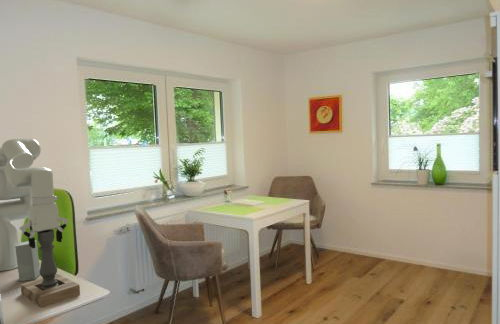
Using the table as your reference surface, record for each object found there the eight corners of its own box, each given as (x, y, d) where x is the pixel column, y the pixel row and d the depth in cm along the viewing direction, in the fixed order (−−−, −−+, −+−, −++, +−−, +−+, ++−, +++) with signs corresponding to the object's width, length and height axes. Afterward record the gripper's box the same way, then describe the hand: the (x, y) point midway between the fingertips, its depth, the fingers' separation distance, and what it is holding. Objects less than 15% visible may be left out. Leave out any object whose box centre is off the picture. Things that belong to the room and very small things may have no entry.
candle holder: (51, 298, 146) (46, 233, 145) (37, 297, 148) (32, 233, 146) (62, 291, 152) (58, 229, 151) (48, 290, 154) (44, 229, 152)
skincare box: (35, 280, 167) (32, 244, 165) (17, 282, 165) (14, 245, 164) (41, 273, 175) (38, 239, 174) (23, 275, 173) (21, 240, 172)
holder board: (21, 294, 151) (20, 284, 151) (58, 283, 162) (57, 273, 161) (41, 307, 138) (40, 296, 138) (80, 294, 149) (79, 284, 148)
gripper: (62, 196, 156) (64, 237, 158) (14, 203, 143) (18, 248, 145) (70, 198, 152) (73, 241, 153) (22, 205, 139) (25, 252, 140)
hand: (46, 244), depth 149 cm, fingers open, 9 cm apart
